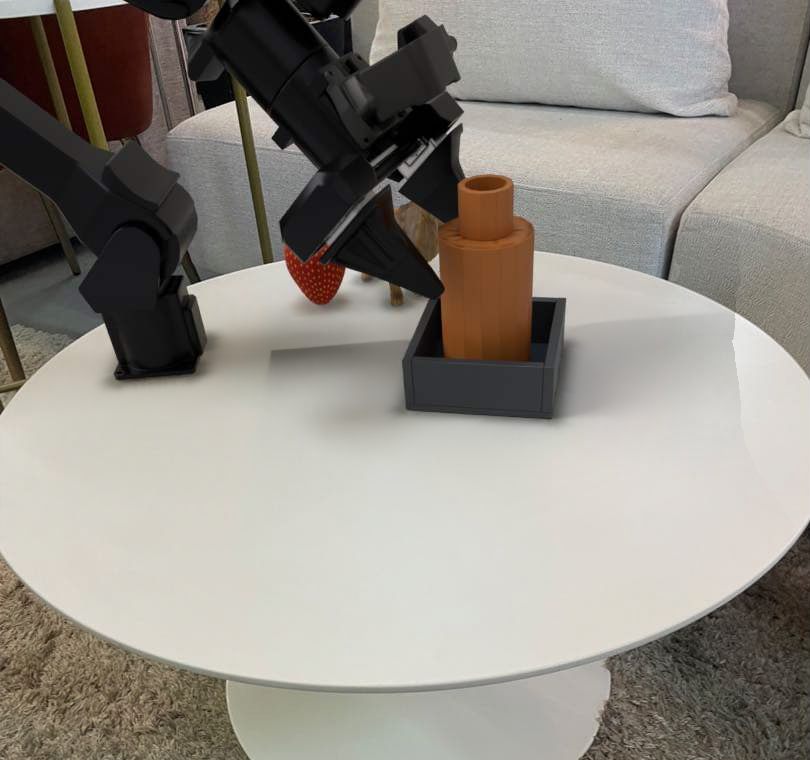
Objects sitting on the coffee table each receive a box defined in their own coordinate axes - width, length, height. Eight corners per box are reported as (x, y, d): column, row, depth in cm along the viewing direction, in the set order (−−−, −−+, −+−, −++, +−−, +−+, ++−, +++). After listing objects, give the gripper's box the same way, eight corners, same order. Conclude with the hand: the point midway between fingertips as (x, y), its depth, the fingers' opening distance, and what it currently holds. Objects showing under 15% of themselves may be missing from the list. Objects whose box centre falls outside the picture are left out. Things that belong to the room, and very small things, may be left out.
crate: (405, 410, 58) (401, 360, 55) (433, 339, 66) (431, 293, 63) (551, 419, 56) (554, 368, 53) (563, 345, 63) (566, 297, 61)
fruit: (284, 313, 71) (267, 221, 66) (307, 287, 75) (293, 199, 69) (340, 318, 70) (327, 225, 64) (361, 291, 73) (351, 201, 68)
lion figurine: (465, 303, 70) (463, 197, 64) (414, 322, 68) (407, 215, 62) (376, 253, 79) (367, 156, 73) (329, 268, 77) (316, 170, 71)
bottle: (447, 396, 58) (439, 205, 49) (441, 352, 63) (433, 171, 54) (535, 389, 58) (542, 196, 49) (522, 346, 63) (527, 163, 54)
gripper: (293, 4, 40) (503, 245, 44) (431, -50, 52) (585, 141, 56) (198, 163, 48) (383, 355, 52) (338, 82, 60) (478, 242, 64)
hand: (464, 266), depth 56 cm, fingers open, 9 cm apart
